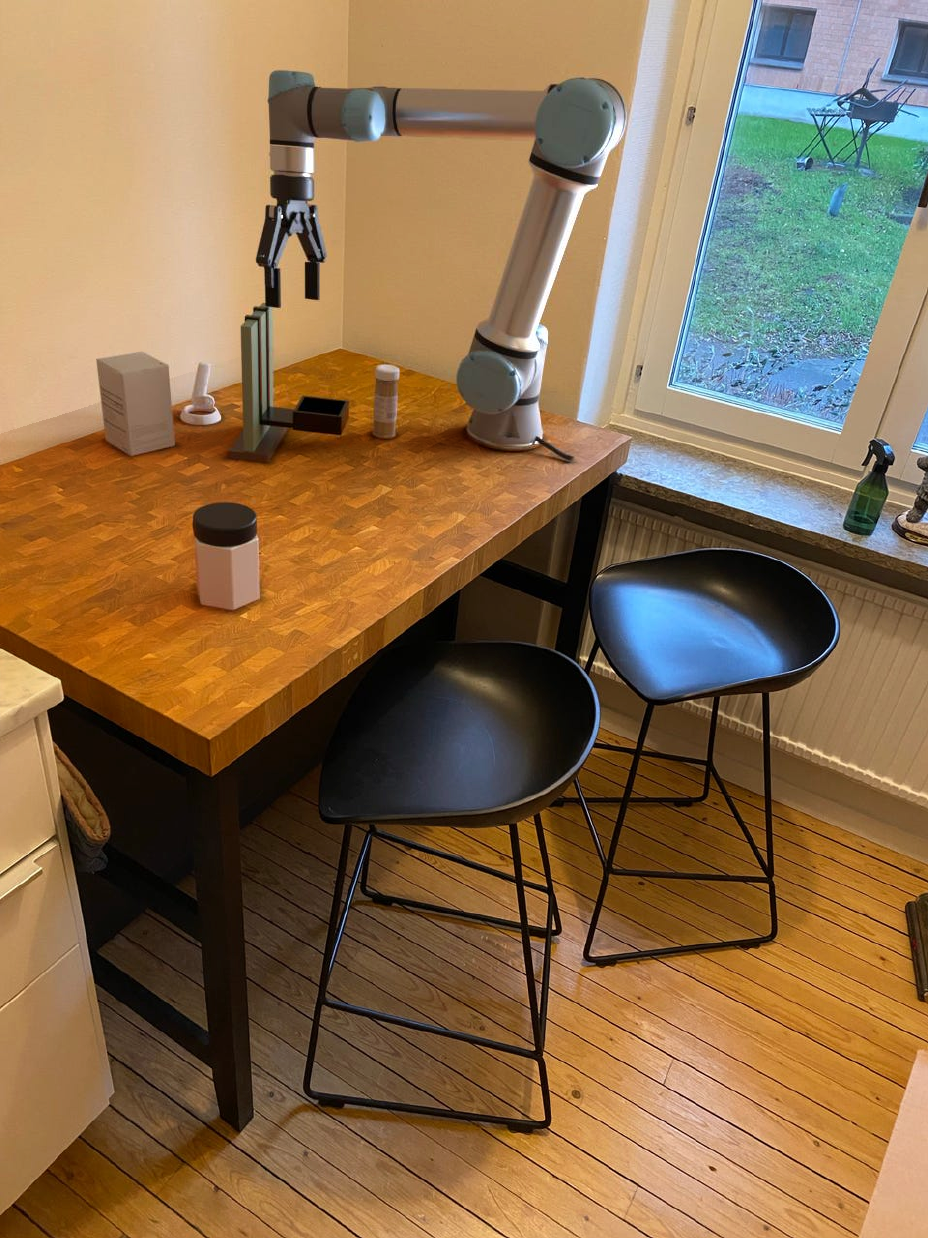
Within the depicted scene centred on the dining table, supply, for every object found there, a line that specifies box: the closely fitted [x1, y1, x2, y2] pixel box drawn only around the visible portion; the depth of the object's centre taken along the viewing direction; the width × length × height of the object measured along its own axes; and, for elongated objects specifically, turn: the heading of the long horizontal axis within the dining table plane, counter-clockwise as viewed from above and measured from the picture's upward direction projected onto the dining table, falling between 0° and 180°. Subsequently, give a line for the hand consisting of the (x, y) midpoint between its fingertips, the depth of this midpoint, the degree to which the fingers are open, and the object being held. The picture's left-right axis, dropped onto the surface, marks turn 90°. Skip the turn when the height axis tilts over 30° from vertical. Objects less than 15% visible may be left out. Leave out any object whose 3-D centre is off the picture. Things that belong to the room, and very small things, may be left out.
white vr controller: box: [179, 361, 222, 426], centre depth 181 cm, size 8×12×7 cm
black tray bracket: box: [244, 305, 350, 437], centre depth 166 cm, size 17×9×19 cm, turn 87°
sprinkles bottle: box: [372, 364, 401, 440], centre depth 179 cm, size 5×5×14 cm
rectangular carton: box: [95, 351, 176, 457], centre depth 164 cm, size 9×9×15 cm
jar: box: [191, 501, 261, 611], centre depth 125 cm, size 9×8×12 cm
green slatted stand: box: [227, 302, 289, 464], centre depth 167 cm, size 7×17×24 cm, turn 177°
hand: (293, 303), depth 171 cm, fingers open, 13 cm apart
